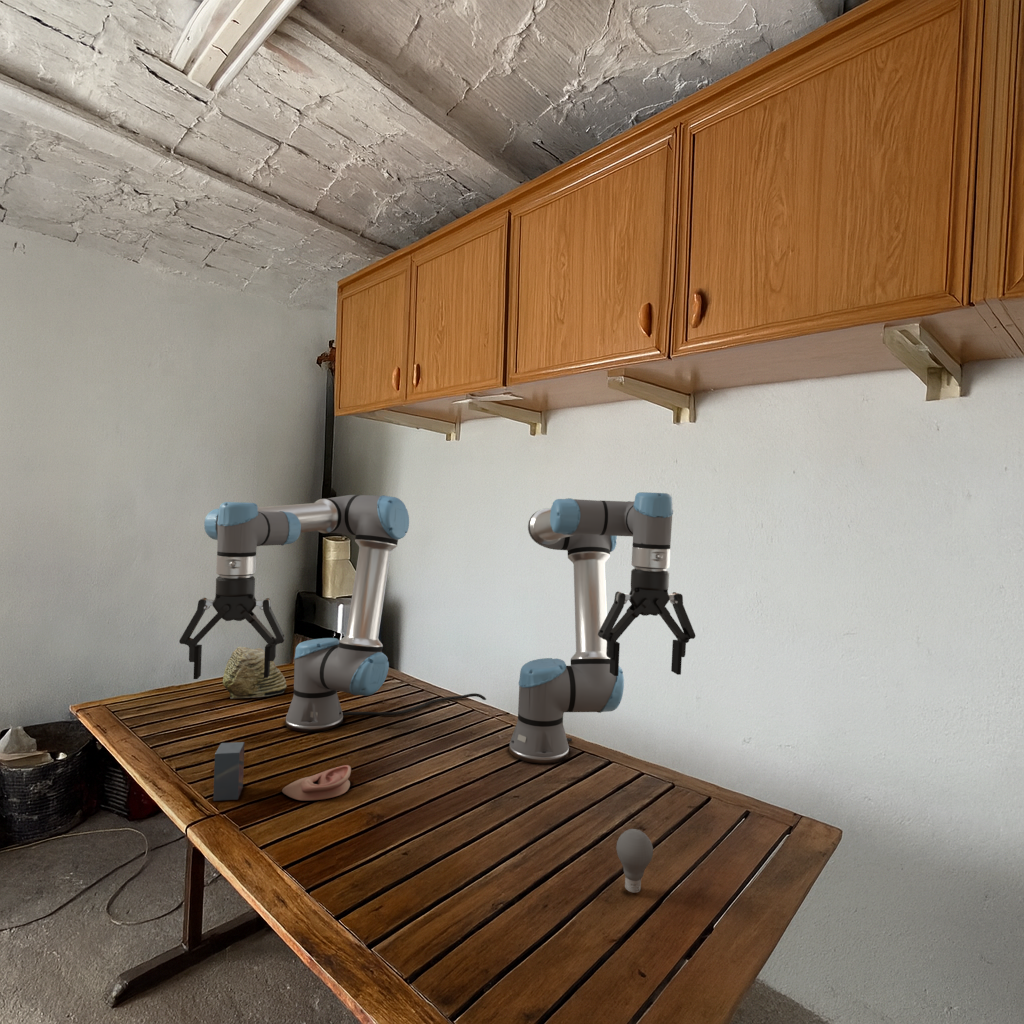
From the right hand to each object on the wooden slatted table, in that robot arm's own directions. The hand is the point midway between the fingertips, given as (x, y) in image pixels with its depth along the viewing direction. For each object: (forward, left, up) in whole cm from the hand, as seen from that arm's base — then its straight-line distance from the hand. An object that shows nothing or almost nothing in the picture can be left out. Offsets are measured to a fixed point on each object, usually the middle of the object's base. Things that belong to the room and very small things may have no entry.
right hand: (645, 673), depth 128 cm
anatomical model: (+36, -58, -30) cm, 75 cm away
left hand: (+49, -70, -6) cm, 86 cm away
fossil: (+11, -126, -30) cm, 131 cm away
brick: (+49, -70, -30) cm, 91 cm away
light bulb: (+22, +10, -30) cm, 39 cm away
